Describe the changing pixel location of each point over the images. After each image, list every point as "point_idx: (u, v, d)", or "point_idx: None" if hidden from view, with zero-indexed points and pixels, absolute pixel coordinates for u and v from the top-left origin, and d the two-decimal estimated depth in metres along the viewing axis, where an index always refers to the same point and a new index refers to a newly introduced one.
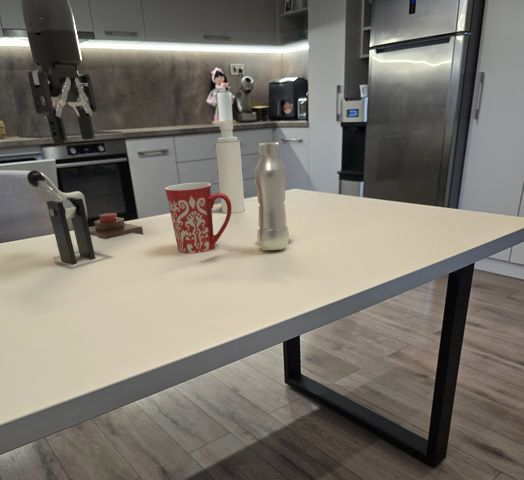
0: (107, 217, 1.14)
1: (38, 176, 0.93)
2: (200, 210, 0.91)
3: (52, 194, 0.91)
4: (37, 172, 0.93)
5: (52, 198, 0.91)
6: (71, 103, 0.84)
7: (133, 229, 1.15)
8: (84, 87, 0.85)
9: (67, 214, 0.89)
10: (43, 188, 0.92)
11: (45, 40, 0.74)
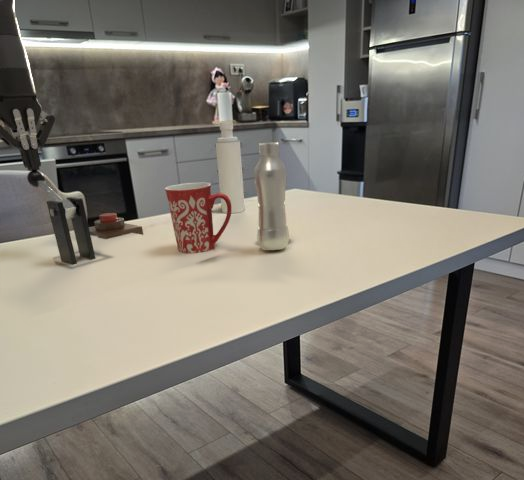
0: (107, 217, 1.14)
1: (38, 176, 0.93)
2: (200, 210, 0.91)
3: (52, 194, 0.91)
4: (37, 172, 0.93)
5: (52, 198, 0.91)
6: None
7: (133, 229, 1.15)
8: (43, 122, 0.92)
9: (67, 214, 0.89)
10: (43, 188, 0.92)
11: None
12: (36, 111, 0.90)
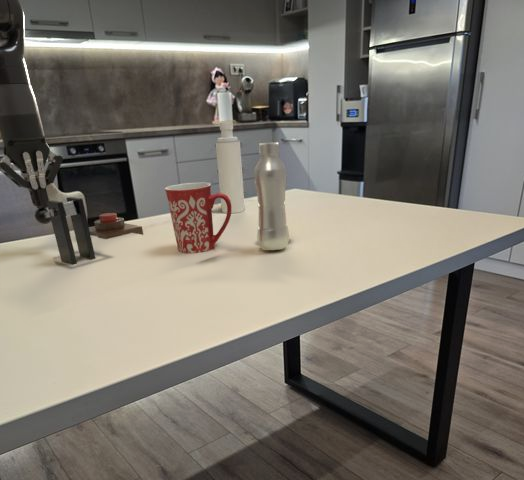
0: (107, 217, 1.14)
1: (43, 209, 0.97)
2: (200, 210, 0.91)
3: None
4: (42, 208, 0.97)
5: None
6: None
7: (133, 229, 1.15)
8: (52, 162, 0.96)
9: (66, 209, 0.89)
10: (48, 213, 0.95)
11: (2, 124, 0.87)
12: (45, 152, 0.94)
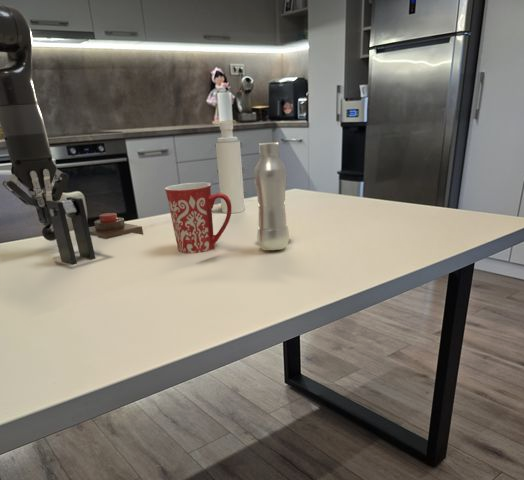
0: (107, 217, 1.14)
1: (49, 225, 0.98)
2: (200, 210, 0.91)
3: None
4: None
5: None
6: None
7: (133, 229, 1.15)
8: (58, 180, 0.97)
9: (65, 206, 0.89)
10: None
11: (10, 143, 0.88)
12: (51, 171, 0.95)
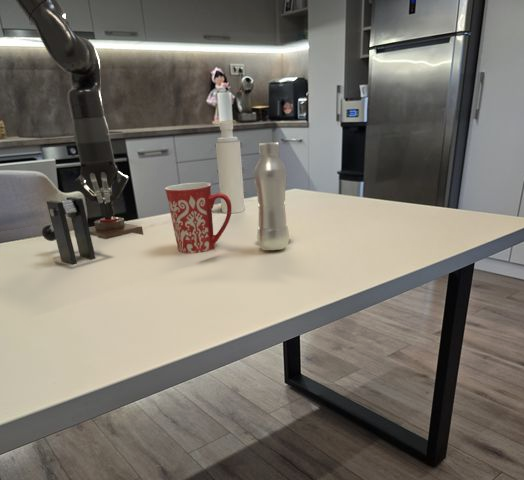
0: (108, 221, 1.14)
1: (49, 225, 0.98)
2: (200, 210, 0.91)
3: None
4: None
5: None
6: None
7: (133, 229, 1.15)
8: (118, 182, 1.12)
9: (65, 206, 0.89)
10: None
11: (77, 149, 1.08)
12: (111, 173, 1.10)
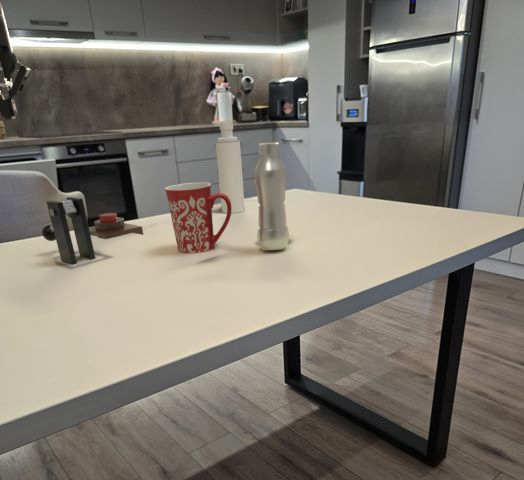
0: (107, 217, 1.14)
1: (49, 225, 0.98)
2: (200, 210, 0.91)
3: None
4: None
5: None
6: None
7: (133, 229, 1.15)
8: None
9: (65, 206, 0.89)
10: None
11: None
12: (7, 62, 0.95)
